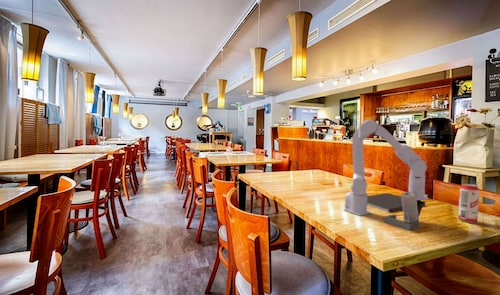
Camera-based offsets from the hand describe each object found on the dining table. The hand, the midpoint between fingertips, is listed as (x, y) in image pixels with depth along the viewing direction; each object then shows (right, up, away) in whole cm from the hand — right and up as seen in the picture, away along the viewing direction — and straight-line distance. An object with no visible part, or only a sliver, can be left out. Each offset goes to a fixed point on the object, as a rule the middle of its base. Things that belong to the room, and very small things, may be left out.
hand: (415, 217), depth 106 cm
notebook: (+3, -1, +27) cm, 27 cm away
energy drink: (-3, -1, -1) cm, 3 cm away
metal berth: (-9, -2, -5) cm, 11 cm away
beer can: (+23, -2, 0) cm, 23 cm away
